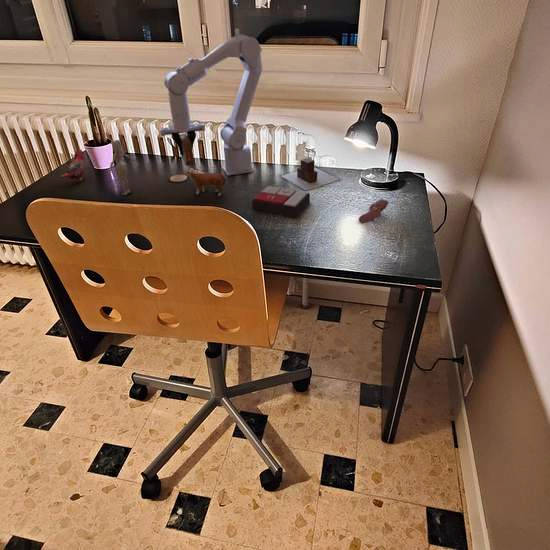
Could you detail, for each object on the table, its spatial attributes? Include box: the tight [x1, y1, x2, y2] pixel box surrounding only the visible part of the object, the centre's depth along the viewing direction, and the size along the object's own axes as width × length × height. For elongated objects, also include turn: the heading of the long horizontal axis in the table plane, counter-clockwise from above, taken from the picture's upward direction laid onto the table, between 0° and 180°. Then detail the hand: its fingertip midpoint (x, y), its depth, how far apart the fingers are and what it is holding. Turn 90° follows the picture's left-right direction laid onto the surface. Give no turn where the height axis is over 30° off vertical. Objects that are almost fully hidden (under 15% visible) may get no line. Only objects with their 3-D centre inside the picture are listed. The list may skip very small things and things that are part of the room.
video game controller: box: [358, 198, 389, 224], centre depth 123 cm, size 10×5×7 cm, turn 148°
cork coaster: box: [169, 174, 188, 183], centre depth 150 cm, size 6×6×1 cm
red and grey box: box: [251, 185, 311, 219], centre depth 131 cm, size 11×4×15 cm
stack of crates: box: [280, 157, 340, 191], centre depth 147 cm, size 15×15×7 cm
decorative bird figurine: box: [59, 148, 86, 184], centre depth 145 cm, size 3×18×10 cm, turn 174°
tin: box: [179, 133, 195, 167], centre depth 143 cm, size 15×3×8 cm, turn 19°
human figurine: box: [107, 139, 136, 196], centre depth 135 cm, size 12×4×18 cm, turn 155°
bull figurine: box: [186, 167, 226, 197], centre depth 138 cm, size 4×13×8 cm, turn 73°
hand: (186, 154), depth 144 cm, fingers closed on tin, 2 cm apart
